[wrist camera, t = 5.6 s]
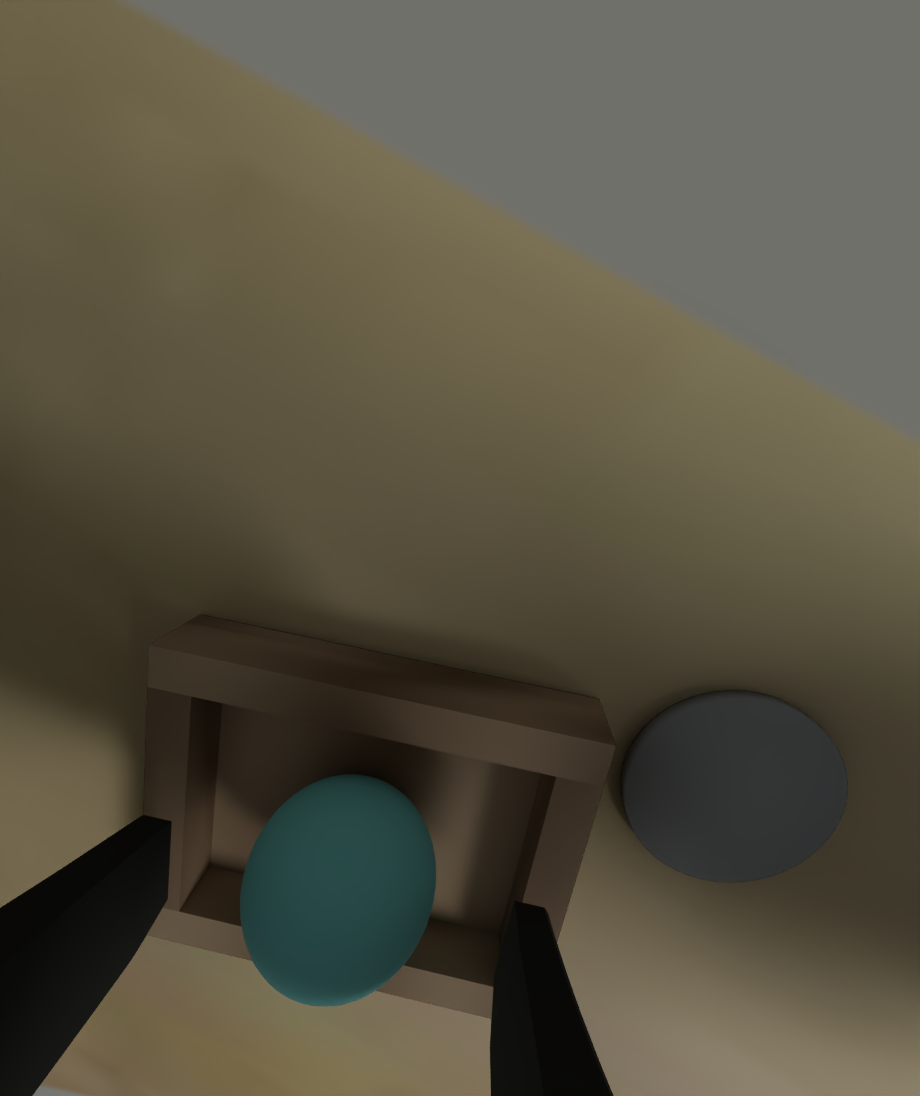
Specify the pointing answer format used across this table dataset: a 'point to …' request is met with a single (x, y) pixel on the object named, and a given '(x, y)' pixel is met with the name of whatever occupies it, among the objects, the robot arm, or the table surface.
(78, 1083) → the table surface
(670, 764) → the coaster
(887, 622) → the table surface
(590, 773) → the tray
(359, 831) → the ball
